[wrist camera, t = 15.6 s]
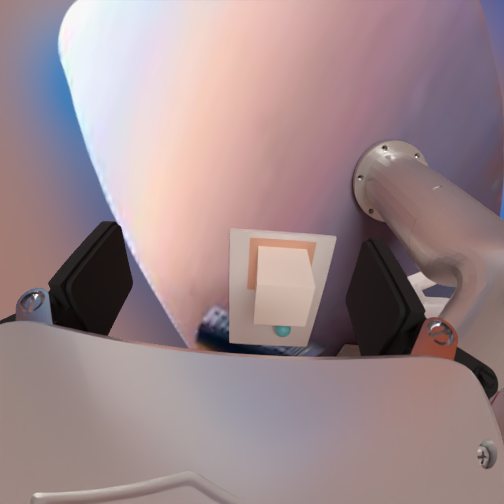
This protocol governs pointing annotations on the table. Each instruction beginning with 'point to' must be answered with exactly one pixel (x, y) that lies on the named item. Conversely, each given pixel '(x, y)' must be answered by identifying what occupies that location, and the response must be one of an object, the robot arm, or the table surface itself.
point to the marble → (282, 330)
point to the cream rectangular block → (283, 286)
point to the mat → (245, 278)
